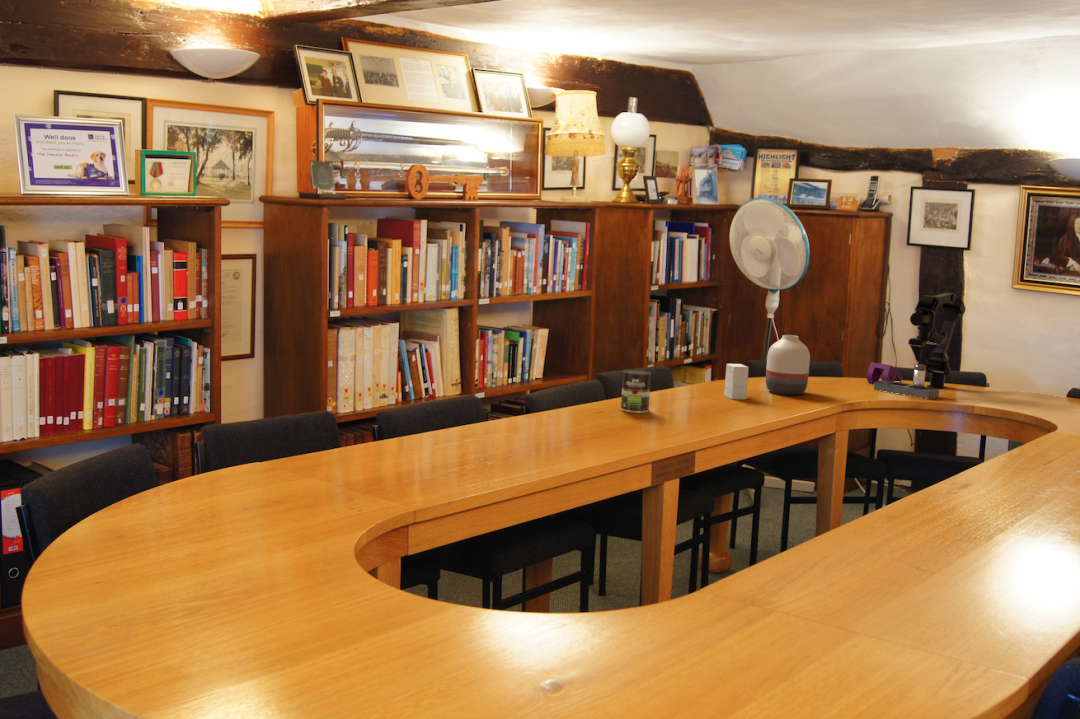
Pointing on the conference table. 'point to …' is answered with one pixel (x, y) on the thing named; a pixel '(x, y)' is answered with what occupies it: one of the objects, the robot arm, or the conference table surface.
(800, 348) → the vase
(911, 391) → the rack rail
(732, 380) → the small box
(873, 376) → the mounting bracket
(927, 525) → the conference table surface
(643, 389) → the coffee can
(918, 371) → the steel pin
